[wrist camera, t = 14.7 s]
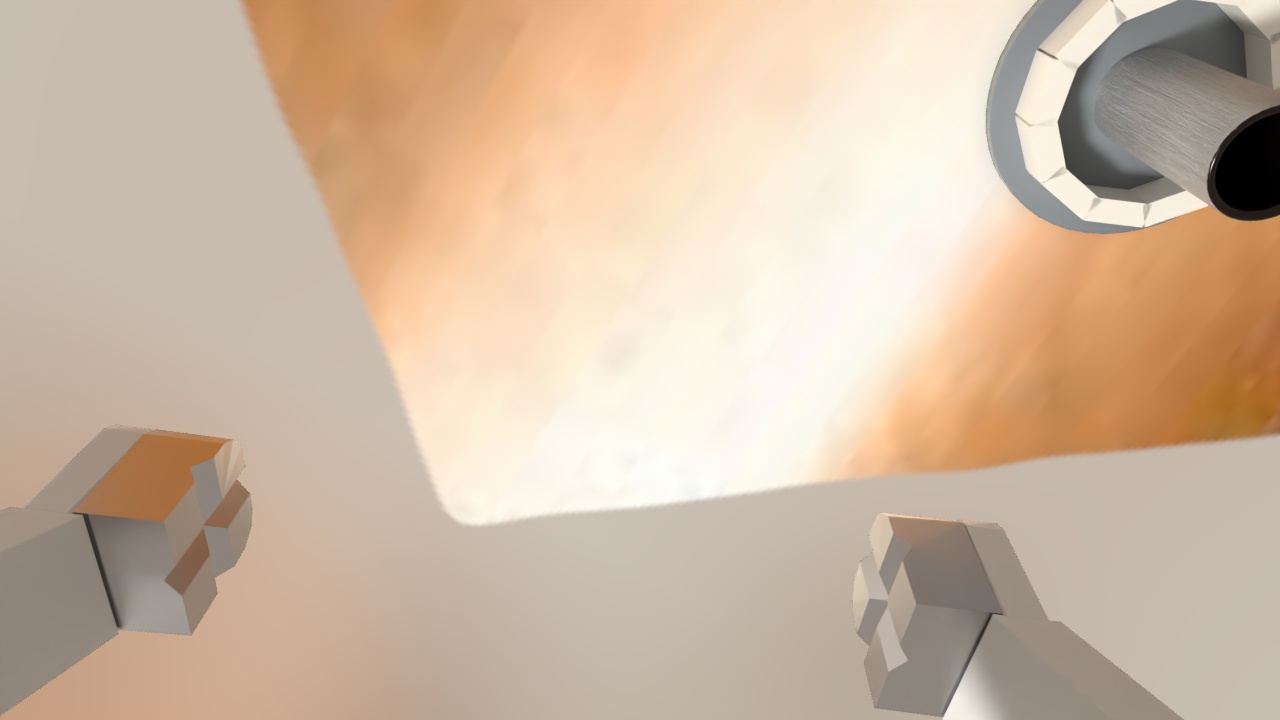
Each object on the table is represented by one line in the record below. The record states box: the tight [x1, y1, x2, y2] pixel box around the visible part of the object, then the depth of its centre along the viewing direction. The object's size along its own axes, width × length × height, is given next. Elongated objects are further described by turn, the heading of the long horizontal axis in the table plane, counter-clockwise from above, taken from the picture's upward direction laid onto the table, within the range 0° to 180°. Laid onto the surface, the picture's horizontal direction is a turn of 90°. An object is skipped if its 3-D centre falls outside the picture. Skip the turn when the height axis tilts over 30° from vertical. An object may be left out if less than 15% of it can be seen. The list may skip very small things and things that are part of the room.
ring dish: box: [986, 0, 1280, 234], centre depth 39 cm, size 14×14×3 cm
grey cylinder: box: [1093, 47, 1280, 221], centre depth 36 cm, size 4×4×10 cm
